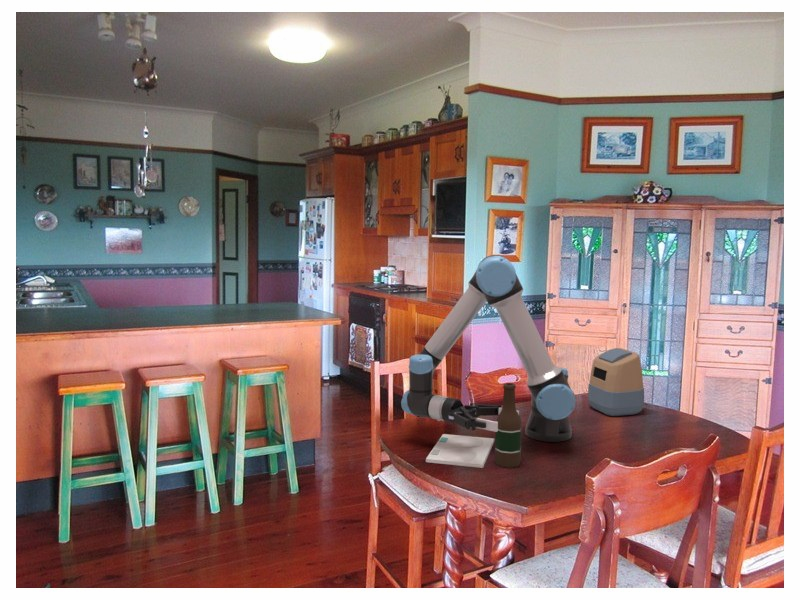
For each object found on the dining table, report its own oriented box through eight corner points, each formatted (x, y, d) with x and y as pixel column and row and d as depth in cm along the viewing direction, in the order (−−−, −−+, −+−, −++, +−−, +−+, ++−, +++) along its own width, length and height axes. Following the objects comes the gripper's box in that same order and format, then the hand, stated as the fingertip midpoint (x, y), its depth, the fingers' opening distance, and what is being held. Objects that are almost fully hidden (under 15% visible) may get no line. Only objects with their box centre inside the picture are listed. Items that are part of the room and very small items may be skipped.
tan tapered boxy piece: (583, 406, 250) (585, 347, 247) (621, 403, 254) (623, 345, 252) (608, 418, 234) (610, 356, 231) (648, 415, 238) (650, 353, 236)
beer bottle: (491, 459, 194) (493, 380, 191) (517, 458, 194) (519, 380, 191) (497, 468, 186) (499, 387, 183) (524, 468, 186) (526, 386, 184)
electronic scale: (494, 441, 209) (494, 437, 209) (482, 467, 186) (483, 463, 186) (443, 436, 214) (443, 433, 214) (425, 462, 191) (425, 458, 191)
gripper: (466, 411, 211) (526, 423, 199) (424, 431, 191) (487, 445, 179) (467, 389, 210) (526, 399, 198) (424, 406, 190) (487, 418, 178)
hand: (508, 421), depth 188 cm, fingers open, 13 cm apart
